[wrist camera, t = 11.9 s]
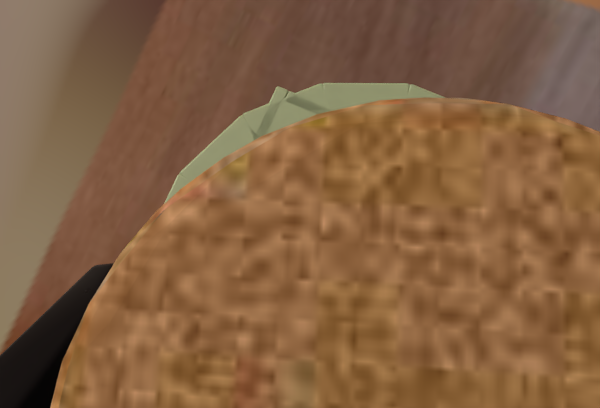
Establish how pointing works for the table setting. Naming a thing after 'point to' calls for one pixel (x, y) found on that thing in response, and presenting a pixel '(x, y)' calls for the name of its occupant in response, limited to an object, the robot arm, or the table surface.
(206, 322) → the bottle
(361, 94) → the holder
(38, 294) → the table surface
